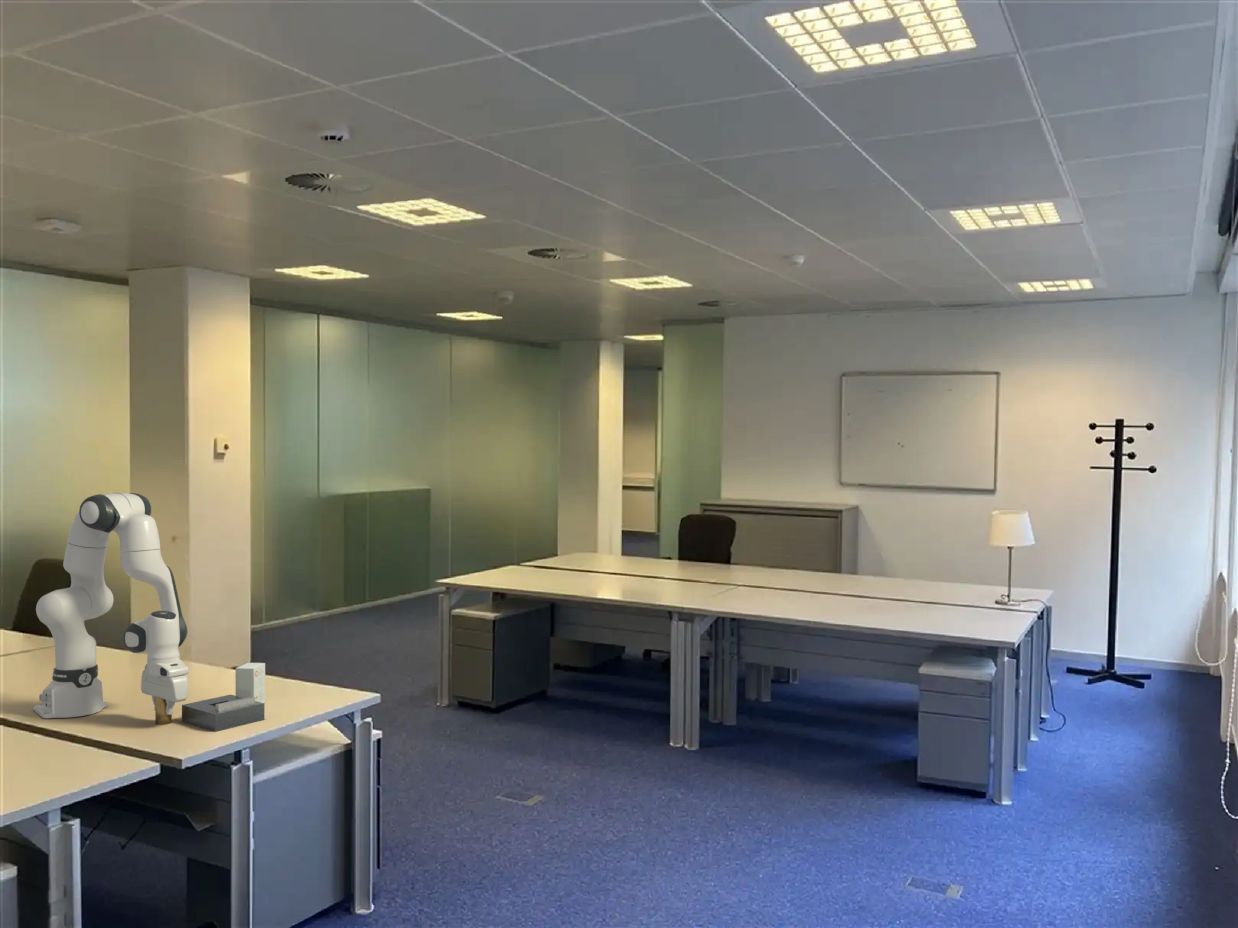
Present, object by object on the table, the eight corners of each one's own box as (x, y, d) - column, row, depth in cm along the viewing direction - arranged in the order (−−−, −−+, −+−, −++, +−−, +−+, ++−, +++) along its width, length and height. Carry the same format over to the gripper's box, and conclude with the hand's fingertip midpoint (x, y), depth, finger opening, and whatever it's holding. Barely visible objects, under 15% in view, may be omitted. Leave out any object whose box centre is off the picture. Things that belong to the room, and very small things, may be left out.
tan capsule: (152, 723, 290) (152, 696, 290) (166, 719, 293) (166, 693, 293) (160, 725, 287) (160, 698, 287) (174, 722, 291) (174, 695, 291)
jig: (181, 721, 292) (181, 698, 292) (230, 710, 305) (230, 688, 304) (215, 731, 281) (215, 707, 281) (264, 719, 294) (264, 696, 294)
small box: (246, 702, 314) (246, 662, 314) (265, 702, 314) (265, 662, 314) (234, 708, 306) (234, 667, 306) (254, 709, 306) (254, 668, 306)
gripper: (135, 663, 294) (135, 709, 294) (171, 672, 282) (171, 720, 282) (155, 659, 299) (155, 704, 299) (192, 668, 287) (192, 715, 287)
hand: (163, 712), depth 290 cm, fingers closed on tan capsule, 4 cm apart
